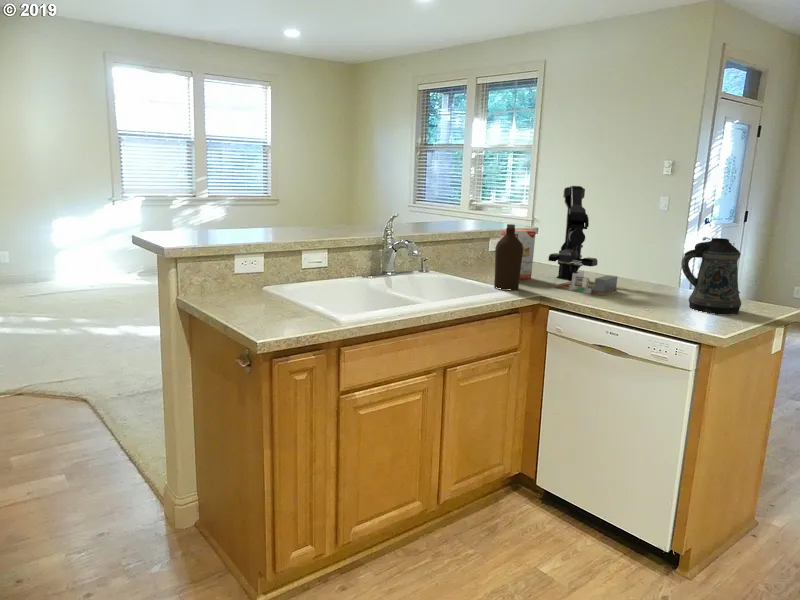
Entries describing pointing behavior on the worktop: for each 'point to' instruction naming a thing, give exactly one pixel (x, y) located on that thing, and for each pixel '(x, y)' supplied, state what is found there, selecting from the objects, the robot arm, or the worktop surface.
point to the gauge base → (581, 288)
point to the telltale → (585, 282)
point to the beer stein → (714, 277)
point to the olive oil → (508, 260)
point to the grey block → (578, 278)
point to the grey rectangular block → (605, 283)
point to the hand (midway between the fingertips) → (570, 280)
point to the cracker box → (525, 250)
